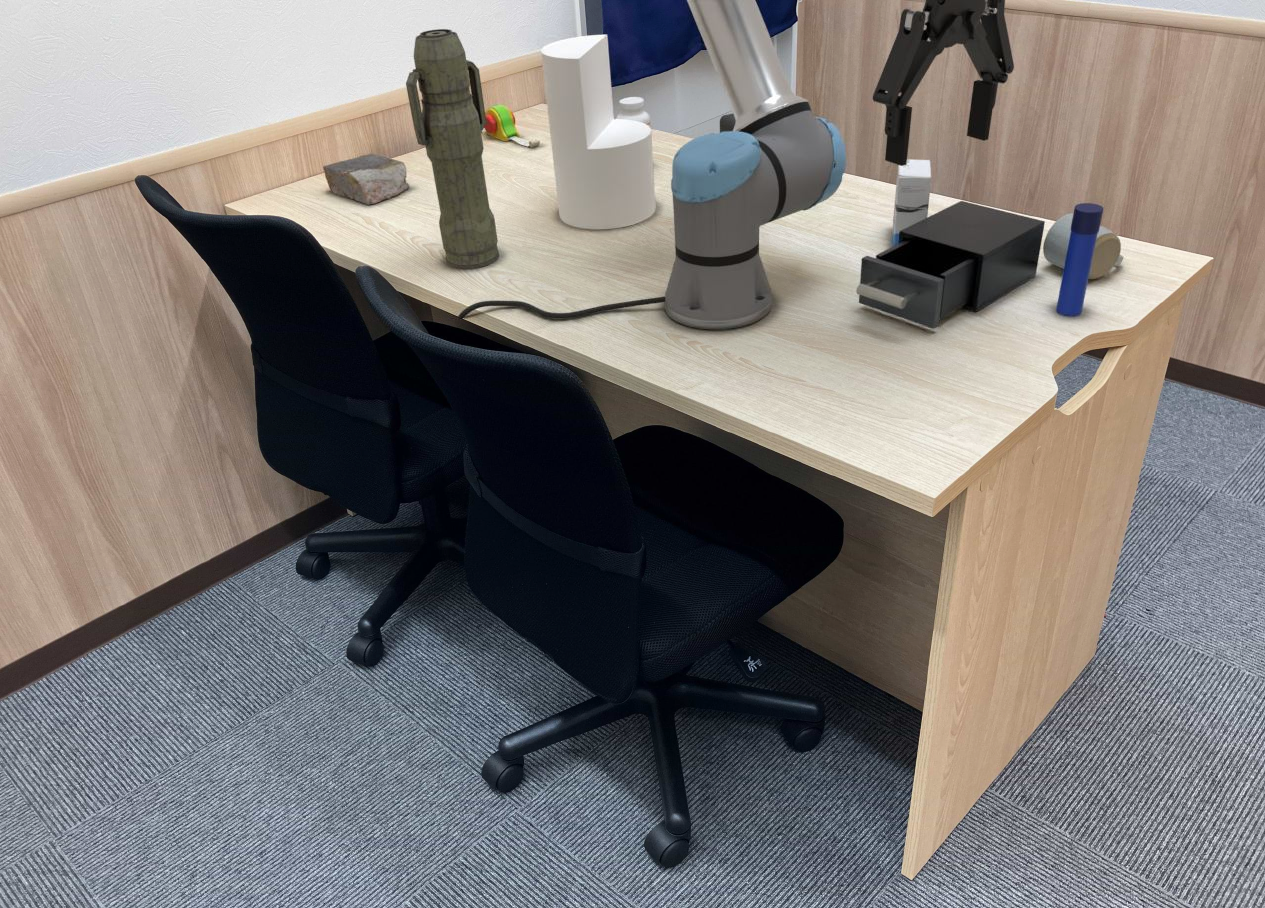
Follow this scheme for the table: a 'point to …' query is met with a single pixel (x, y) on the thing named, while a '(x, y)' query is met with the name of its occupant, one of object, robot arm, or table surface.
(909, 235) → the drawer unit
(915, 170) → the ink box
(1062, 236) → the ceramic mug
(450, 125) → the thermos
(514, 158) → the table surface
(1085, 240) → the marker
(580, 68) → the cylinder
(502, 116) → the toy measuring tape
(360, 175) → the geological specimen
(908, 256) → the drawer
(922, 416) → the table surface
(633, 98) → the supplement bottle
